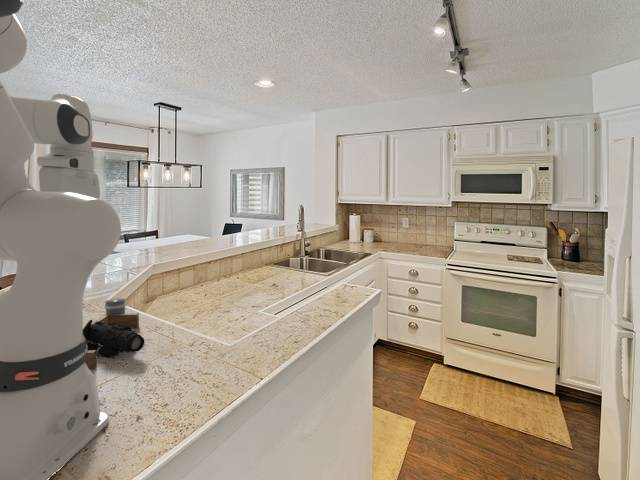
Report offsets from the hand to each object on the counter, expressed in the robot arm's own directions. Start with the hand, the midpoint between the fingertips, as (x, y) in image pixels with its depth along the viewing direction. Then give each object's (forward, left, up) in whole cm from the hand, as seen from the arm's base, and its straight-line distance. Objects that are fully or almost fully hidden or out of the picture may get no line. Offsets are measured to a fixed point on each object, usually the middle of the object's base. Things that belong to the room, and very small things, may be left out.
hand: (75, 217), depth 85 cm
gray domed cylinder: (+12, -4, -33) cm, 35 cm away
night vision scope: (-9, -12, -33) cm, 37 cm away
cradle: (-5, -8, -33) cm, 34 cm away
